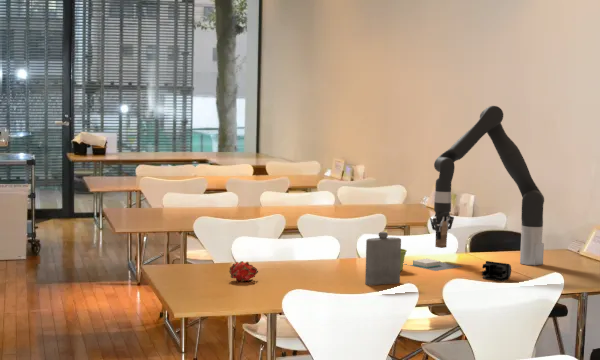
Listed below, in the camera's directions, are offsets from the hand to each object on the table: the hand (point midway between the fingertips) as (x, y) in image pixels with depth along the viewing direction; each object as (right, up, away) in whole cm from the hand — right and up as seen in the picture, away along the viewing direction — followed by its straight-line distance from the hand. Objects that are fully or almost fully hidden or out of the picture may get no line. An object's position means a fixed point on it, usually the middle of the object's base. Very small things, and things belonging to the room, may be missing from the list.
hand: (441, 239), depth 377 cm
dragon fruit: (-86, -13, -52) cm, 101 cm away
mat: (-7, -11, -11) cm, 17 cm away
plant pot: (-24, -12, -23) cm, 35 cm away
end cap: (+16, -14, -37) cm, 43 cm away
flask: (-32, -14, -51) cm, 62 cm away
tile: (-5, -10, -10) cm, 14 cm away
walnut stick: (0, -4, 0) cm, 4 cm away
